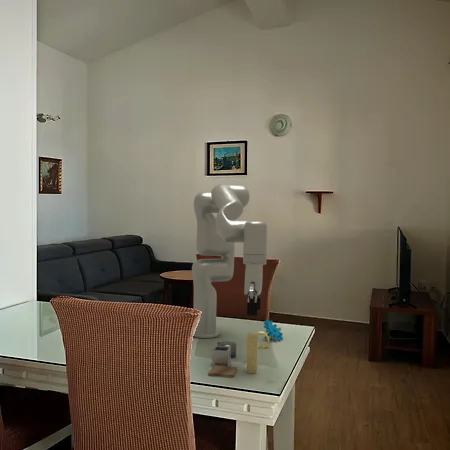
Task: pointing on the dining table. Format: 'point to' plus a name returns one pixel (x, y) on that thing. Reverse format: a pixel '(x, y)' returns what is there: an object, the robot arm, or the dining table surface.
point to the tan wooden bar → (252, 353)
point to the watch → (266, 336)
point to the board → (222, 371)
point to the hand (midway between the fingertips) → (253, 312)
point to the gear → (273, 330)
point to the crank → (223, 353)
